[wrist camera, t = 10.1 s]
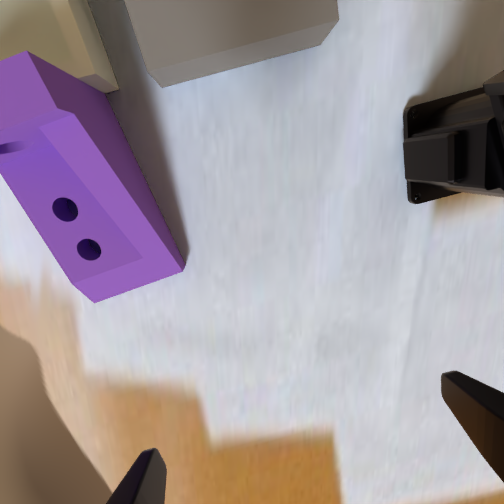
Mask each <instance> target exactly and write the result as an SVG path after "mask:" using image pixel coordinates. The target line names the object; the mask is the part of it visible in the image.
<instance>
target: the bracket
mask: <svg viewBox="0 0 504 504" xmlns="http://www.w3.org/2000/svg"><path fill="white" fill-rule="evenodd" d="M0 173H1V175H2V176H3V178H4V180H5V181H6V183H7V184H8V186H9V187H10V189H11V190H12V192H13V194H14V195H15V197H16V198H17V200H18V201H19V203H20V204H21V206H22V207H23V209H24V211H25V212H26V214H27V215H28V217H29V218H30V220H31V221H32V223H33V224H34V226H35V228H36V229H37V231H38V232H39V234H40V235H41V237H42V238H43V240H44V242H45V243H46V245H47V246H48V248H49V249H50V251H51V252H52V254H53V255H54V257H55V259H56V260H57V262H58V263H59V265H60V266H61V268H62V269H63V271H64V272H65V274H66V276H67V277H68V279H69V280H70V282H71V283H72V284H73V285H74V286H75V287H76V288H77V289H78V290H80V291H81V292H82V293H83V294H84V295H85V296H87V297H88V298H89V299H90V300H91V301H92V302H94V303H96V302H99V301H102V300H105V299H107V298H110V297H113V296H116V295H118V294H121V293H124V292H127V291H130V290H132V289H135V288H138V287H141V286H144V285H146V284H149V283H152V282H155V281H158V280H160V279H163V278H166V277H169V276H171V275H174V274H177V273H180V272H183V270H184V268H185V266H186V265H185V263H184V261H183V258H182V256H181V254H180V252H179V250H178V248H177V246H176V244H175V242H174V239H173V237H172V235H171V233H170V231H169V229H168V227H167V225H166V222H165V220H164V218H163V216H162V214H161V212H160V210H159V208H158V205H157V203H156V201H155V199H154V197H153V195H152V193H151V191H150V188H149V186H148V184H147V182H146V180H145V178H144V176H143V174H142V172H141V169H140V167H139V165H138V163H137V161H136V159H135V157H134V155H133V152H132V150H131V148H130V146H129V144H128V142H127V140H126V138H125V135H124V133H123V131H122V129H121V127H120V125H119V123H118V121H117V118H116V116H115V114H114V112H113V110H112V108H111V106H110V104H109V102H108V99H107V97H106V95H105V94H104V93H103V92H101V91H99V90H97V89H95V88H94V87H92V86H90V85H88V84H86V83H85V82H83V81H81V80H79V79H77V78H76V77H74V76H72V75H70V74H68V73H66V72H65V71H63V70H61V69H59V68H57V67H56V66H54V65H52V64H50V63H48V62H47V61H45V60H43V59H41V58H39V57H38V56H36V55H34V54H32V53H30V52H29V51H27V50H26V51H24V52H21V53H19V54H16V55H14V56H11V57H9V58H6V59H4V60H1V61H0ZM67 199H70V200H72V201H73V202H74V203H75V204H76V206H77V208H78V216H77V217H76V216H75V215H73V214H72V213H71V211H70V210H69V208H68V204H67ZM89 239H92V240H94V241H96V242H97V243H98V244H99V246H100V248H101V254H100V253H98V252H96V251H95V250H94V249H93V248H92V247H91V245H90V243H89Z"/></svg>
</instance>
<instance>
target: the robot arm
mask: <svg viewBox="0 0 504 504" xmlns="http://www.w3.org/2000/svg"><path fill="white" fill-rule="evenodd" d="M412 111H413V112H414V117H413V118H412V117H411V112H412ZM403 123H404V143H403V148H404V165H405V179H406V180H407V194H408V201H409V202H410V203H413V204H420V203H424V202H427V201H431V200H435V199H439V198H442V197H446V196H450V195H454V194H458V193H461V192H464V193H472V194H481V195H489V196H497V197H504V70H503V71H502V72H500V73H499V74H497V75H495V76H494V77H492V78H491V79H489V80H488V81H486V82H485V83H483V87H482V88H478V89H475V90H471V91H467V92H463V93H460V94H456V95H452V96H448V97H445V98H441V99H437V100H433V101H430V102H426V103H422V104H418V105H415V106H411V107H409V108H407V109H406V110H405V112H404V114H403ZM416 194H417V195H418V197H417V199H415V195H416ZM441 393H442V397H443V399H444V401H445V403H446V404H447V405H448V407H449V408H450V410H451V411H452V413H453V414H454V416H455V417H456V419H457V420H458V421H459V423H460V424H461V426H462V427H463V429H464V430H465V432H466V433H467V435H468V436H469V437H470V439H471V440H472V442H473V443H474V445H475V446H476V448H477V449H478V450H479V452H480V453H481V455H482V456H483V457H484V459H485V460H486V461H487V462H488V464H489V465H490V466H491V467H492V469H493V470H494V471H495V472H496V474H497V475H498V476H499V477H500V479H501V480H502V481H503V482H504V393H503V392H501V391H499V390H496V389H494V388H492V387H490V386H488V385H486V384H484V383H482V382H480V381H478V380H475V379H473V378H471V377H469V376H467V375H465V374H463V373H461V372H458V371H450V372H446V373H443V374H442V375H441ZM166 475H167V469H166V465H165V462H164V460H163V459H162V457H161V455H160V453H159V451H158V449H156V448H151V449H147V450H144V451H143V452H142V453H141V454H140V455H139V456H138V458H137V459H136V461H135V462H134V464H133V465H132V466H131V468H130V469H129V471H128V472H127V474H126V475H125V477H124V478H123V479H122V481H121V482H120V484H119V485H118V487H117V488H116V490H115V491H114V492H113V494H112V496H111V497H110V498H109V500H108V501H107V503H106V504H164V501H165V488H166Z"/></svg>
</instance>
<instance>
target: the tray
mask: <svg viewBox="0 0 504 504" xmlns="http://www.w3.org/2000/svg"><path fill="white" fill-rule="evenodd" d="M26 50H27V51H29V52H30V53H32V54H34V55H36V56H38V57H39V58H41V59H43V60H45V61H47V62H48V63H50V64H52V65H54V66H56V67H57V68H59V69H61V70H63V71H65V72H66V73H68V74H70V75H72V76H74V77H76V78H77V79H79V80H81V81H83V82H85V83H86V84H88V85H90V86H92V87H94V88H95V89H97V90H99V91H101V92H103V93H108V92H111V91H115V90H119V86H118V84H117V81H116V78H115V75H114V73H113V70H112V67H111V65H110V62H109V59H108V56H107V54H106V51H105V48H104V45H103V43H102V40H101V37H100V34H99V32H98V29H97V26H96V23H95V21H94V18H93V15H92V12H91V10H90V7H89V4H88V1H87V0H0V61H1V60H4V59H6V58H9V57H11V56H14V55H16V54H19V53H21V52H24V51H26Z"/></svg>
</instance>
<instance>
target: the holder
mask: <svg viewBox="0 0 504 504" xmlns="http://www.w3.org/2000/svg"><path fill="white" fill-rule="evenodd" d="M124 2H125V5H126V8H127V11H128V14H129V17H130V20H131V23H132V26H133V29H134V32H135V35H136V38H137V41H138V44H139V47H140V50H141V54H142V57H143V60H144V63H145V66H146V69H147V72H148V73H149V74H150V75H151V76H152V77H153V78H154V79H155V81H156V82H157V83H158V84H159V85H160V86H161V87H162V88H163V87H167V86H170V85H174V84H178V83H181V82H185V81H189V80H193V79H196V78H200V77H204V76H207V75H211V74H215V73H218V72H222V71H226V70H229V69H233V68H237V67H241V66H244V65H248V64H252V63H255V62H259V61H263V60H266V59H270V58H274V57H278V56H281V55H285V54H289V53H292V52H296V51H300V50H303V49H307V48H311V47H315V46H318V45H321V43H322V42H323V41H324V39H325V38H326V37H327V35H328V34H329V33H330V31H331V30H332V29H333V27H334V26H335V25H336V23H337V22H338V21H339V14H338V6H337V0H124Z"/></svg>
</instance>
